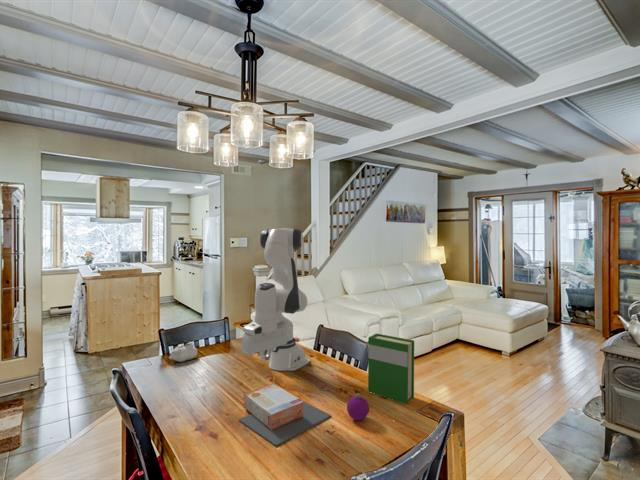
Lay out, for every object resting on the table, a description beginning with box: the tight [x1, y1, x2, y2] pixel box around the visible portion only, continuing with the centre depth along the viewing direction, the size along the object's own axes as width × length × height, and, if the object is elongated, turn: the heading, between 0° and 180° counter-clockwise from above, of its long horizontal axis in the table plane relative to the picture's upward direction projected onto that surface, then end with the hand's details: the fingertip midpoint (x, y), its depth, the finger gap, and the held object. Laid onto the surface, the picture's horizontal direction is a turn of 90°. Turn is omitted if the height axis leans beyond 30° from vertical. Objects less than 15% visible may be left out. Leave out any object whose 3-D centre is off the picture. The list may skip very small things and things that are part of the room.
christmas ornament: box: [346, 393, 370, 421], centre depth 128 cm, size 8×8×10 cm
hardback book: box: [367, 333, 415, 405], centre depth 147 cm, size 18×7×24 cm, turn 54°
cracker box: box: [243, 383, 304, 430], centre depth 131 cm, size 14×6×21 cm
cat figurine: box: [168, 342, 198, 363], centre depth 186 cm, size 10×8×15 cm
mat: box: [238, 399, 332, 448], centre depth 127 cm, size 26×22×1 cm
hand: (265, 360), depth 136 cm, fingers closed
